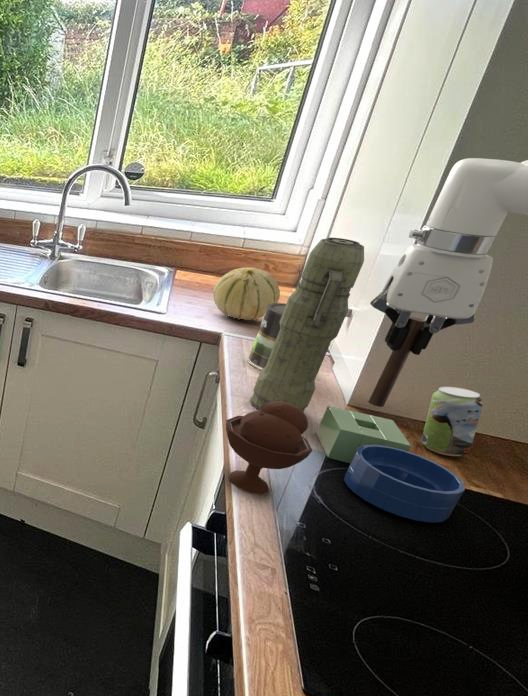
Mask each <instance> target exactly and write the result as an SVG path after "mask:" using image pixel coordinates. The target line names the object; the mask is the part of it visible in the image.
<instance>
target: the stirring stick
mask: <svg viewBox="0 0 528 696" xmlns="http://www.w3.org/2000/svg"><path fill="white" fill-rule="evenodd" d="M424 323H425V319H423V318H420V317H416V316H410V317H409V319H408V321H407V323H406V324H407V325H406V327H405V328H406V329H407V330H408V331H407V333H406V335H405V337H404V339H403V342H402V344H401V346H400V348H399V350H397V351H394V350H391V353H390V355H389V357H388V359H387V362H386V364H385V365H384V368H383V370H382V372H381V373H380V376H379V378H378V380H377V382H376V384H375V386H374V388H373V390H372V393H371V394H370V397H369V399H368V400H367V402H368V403H369V404H370V405H371V406H374V407H379V408H383V407H385V404H386V402H387V400H388V398H389V396H390V394H391V392H392V390H393V388H394V387H395V384H396V382H397V380H398V378H399V376H400V374H401V372H402V370H403V368H404V366H405V363H406V362H407V360H408V357H409V355H410V353H412V352H411V350H412V348H413V346H414V344H415V341H416V339H417V337H418V335H419V333H420V331H421V329H422V327H423V325H424Z"/></svg>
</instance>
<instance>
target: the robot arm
mask: <svg viewBox="0 0 528 696" xmlns="http://www.w3.org/2000/svg"><path fill="white" fill-rule="evenodd" d="M447 175H448V176H447V178H446V180H445V182H444V184H443V186H442V189H441V191H440V193H439V195H438V197H437V199H436V202H435V204H434V205H433V208H432V210H431V212H430V214H429V217H428V219H427V221H426V224H425V225H423V226H422V228H420V229H411V230H410V231H409V233H408V238H410V239H414V240H416V242H417V243H415V244H414V243H412V244H410V246H408V248H407V250H405V252H404V253H403V254H402V256H401V257H400V259H399V260H398V262H397V263H396V265H395V266H394V268H393V270H392V272H391V273H390V275H389V277H388V278H387V280H386V282H385V284H384V286H383V289H382V291H381V292H380V293H379V294H378V295H376V297H375V298H374V299H372V300H371V301H370V302H369V303H370V306H372V308H374V309H375V310H378V311H380V312H381V313H383V314H385V315H386V317H388V319H389V320H390V322H391V325H390V326H389V329H388V331H387V333H386V335H385V337H384V342H385V343H386V346H387V347H388V348H389V349H390V350H391V351H393V350H394V351H397V350H399V348H400V346H401V344H402V342H403V339H404V337H405V335H406V333H407V331H408V330H407V329H406V328H405V327H406V325H407V324H406V323H407V321H408V319H409V317H411V315H412V313H417V314H423V315H426V316H425V319H424V320H425V323H424V325H423V327H422V329H421V331H420V333H419V335H418V337H417V339H416V341H415V344H414V346H413V348H412V350H411V352H410V353H412V354H414V355H418V356H419V355H420V354H421V352H422V350H426V349H427V347H428V346H429V343H430V341H431V340H432V337H433V335H434V334H438V333H439V332H441V331H442V330H444V329H447V328H449V327H453V326H455V325H456V326H457V325H458V326H459V325H467V324H469V325H470V324H473V323H474V322H475V313H476V311H477V309H478V306H479V305H480V303H481V300H482V298H483V296H484V293H485V290H486V288H487V285H488V281H489V277H490V274H491V271H492V267H493V261H494V257H493V256H491V255H488V252H489V250H490V248H491V247H492V244H493V242H494V240H495V238H496V236H497V235H498V233H499V231H500V229H501V226H502V225H503V223H504V221H505V220H506V217H507V215H508V214H509V213H514V214H520V215H523V216H524V215H525V216H528V159H526V160H523V161H521V162H519V161H513V160H504V159H494V158H481V157H477V158H476V157H468V158H463V159H461V160H458V161H457V162H456V163H455V164H454V165H453V166H452V168H451V170H450V171H449V173H448V174H447Z"/></svg>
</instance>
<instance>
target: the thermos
mask: <svg viewBox="0 0 528 696" xmlns="http://www.w3.org/2000/svg"><path fill="white" fill-rule="evenodd" d="M364 263H365V246H364V244H361V243H360V242H359V241H356V240H352V239H347V238H340V237H326V238H322V239H320V240H319V241H318V243H316V245H315V246H314V247H313V248H312V250H311V251H310V252H309V254H308V257H307V260H306V263H305V264H304V267H303V271H302V273H301V275H300V278H301V279H300V282H298V283H297V286H296V289H295V290H294V291H293V292H292V293H291V294H290V296H289V297H288V299H287V301H286V303H285V304H286V306H285V309H284V311H283V314H282V317H281V319H280V322H279V323H280V330H279V333H278V336H277V338H276V341H275V344H274V346H273V349H272V351H271V354H270V357H269V359H268V362H267V364H266V366H265V367H264V368H263V369H262V370H260V371H259V374H258V376H257V379H256V382H255V384H254V387H253V389H252V390H253V394H252V396H251V397H250V400H249V402H250V404H251V406H253V407H254V408H255V409H256V410H257V411H258V410H259V408H260V406H262V405H264V404H266V403H268V402H273V401H282V402H287V403H290V404H292V405H294V406H296V407H298V408H299V409H300V410H302V411H303V413H304V412H305V410H306V408H308V407H309V405H310V402H311V400H312V398H313V395H314V392H315V390H316V386H315V383H316V382H315V381H316V378H317V376H318V374H319V372H320V370H321V367H322V364H323V362H324V360H325V357H326V356H327V353H328V350H329V348H330V345H331V343H332V341H334V339H336V338H337V337H338V336H339V333H340V330H341V328H342V326H343V323H344V321H345V318H346V316H347V314H348V312H349V298H350V295H351V293H350V292H351V289H353V288H354V286H355V284H356V282H357V279H358V277H359V275H360V272H361V270H362V267H363V264H364ZM304 414H305V413H304Z"/></svg>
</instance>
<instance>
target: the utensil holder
mask: <svg viewBox="0 0 528 696" xmlns="http://www.w3.org/2000/svg"><path fill="white" fill-rule="evenodd" d="M317 427H318V428H317V430H316V432H315V434H316V436H317V438H318V440H319V442H320V444H321V447H322V448H323V451H324V452H325V455H326V457H327V458H328V459H332V460H335V461H339V462H343V463H347V464H350V463H351V461H352V459H353V457H354V455H355V453H356V451H357V449H358V447H361V446H363V445H382V446H389V447H393V448H397V449H401V450H405V451H408V452H410V449H411V448H412V445H411V443H410V442H409V440H408V439H407V438H406V437H405V435H404V434H403V432H402V430H401V429H400V427H398V425H397V423H395V421H394V420H393V419H389V418H385V417H381V416H376V415H372V414H367V413H362V412H359V411H355V410H354V411H353V410H349V409H345V408H339V407H335V406H331V405H327V407H326V408H325V411H324V413H323V416H322V418H321V421H320V423H319V425H318V426H317Z"/></svg>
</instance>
